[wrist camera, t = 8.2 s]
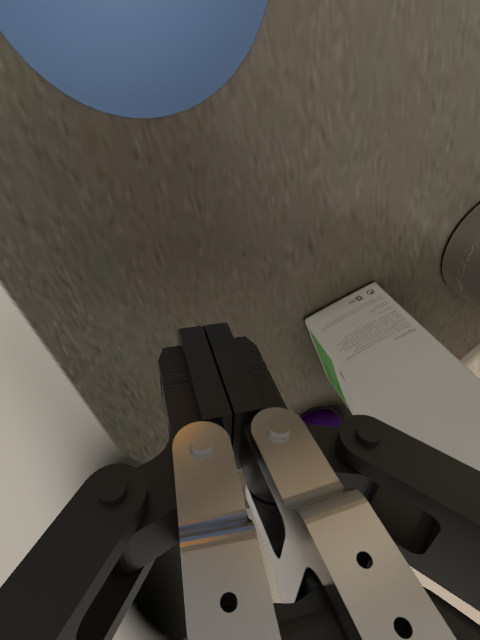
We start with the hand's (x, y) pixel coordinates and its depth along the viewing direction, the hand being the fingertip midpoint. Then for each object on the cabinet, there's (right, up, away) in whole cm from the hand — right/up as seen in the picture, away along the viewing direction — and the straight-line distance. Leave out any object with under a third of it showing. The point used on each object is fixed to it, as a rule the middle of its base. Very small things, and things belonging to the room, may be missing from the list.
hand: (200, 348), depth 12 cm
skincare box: (+10, 0, +21) cm, 23 cm away
